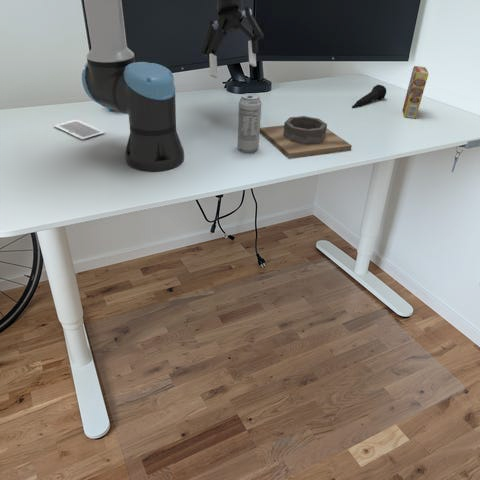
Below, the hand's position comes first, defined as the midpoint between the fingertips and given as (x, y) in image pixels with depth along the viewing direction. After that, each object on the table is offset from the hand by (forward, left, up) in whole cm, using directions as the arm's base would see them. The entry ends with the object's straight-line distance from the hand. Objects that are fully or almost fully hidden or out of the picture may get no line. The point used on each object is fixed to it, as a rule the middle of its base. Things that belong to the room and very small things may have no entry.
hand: (232, 71), depth 133 cm
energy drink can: (-14, -10, -17) cm, 24 cm away
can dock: (-1, -23, -17) cm, 29 cm away
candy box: (+40, -51, -17) cm, 68 cm away
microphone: (+47, -36, -18) cm, 62 cm away
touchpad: (-22, +40, -18) cm, 49 cm away
